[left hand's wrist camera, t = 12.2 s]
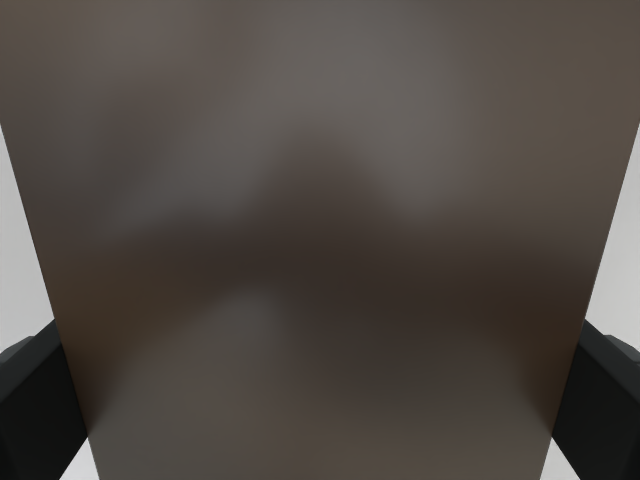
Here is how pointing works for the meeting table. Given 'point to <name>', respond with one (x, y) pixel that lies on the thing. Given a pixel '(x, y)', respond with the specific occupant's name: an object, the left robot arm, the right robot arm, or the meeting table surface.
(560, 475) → the meeting table surface
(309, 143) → the cabinet
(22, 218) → the meeting table surface
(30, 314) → the meeting table surface
